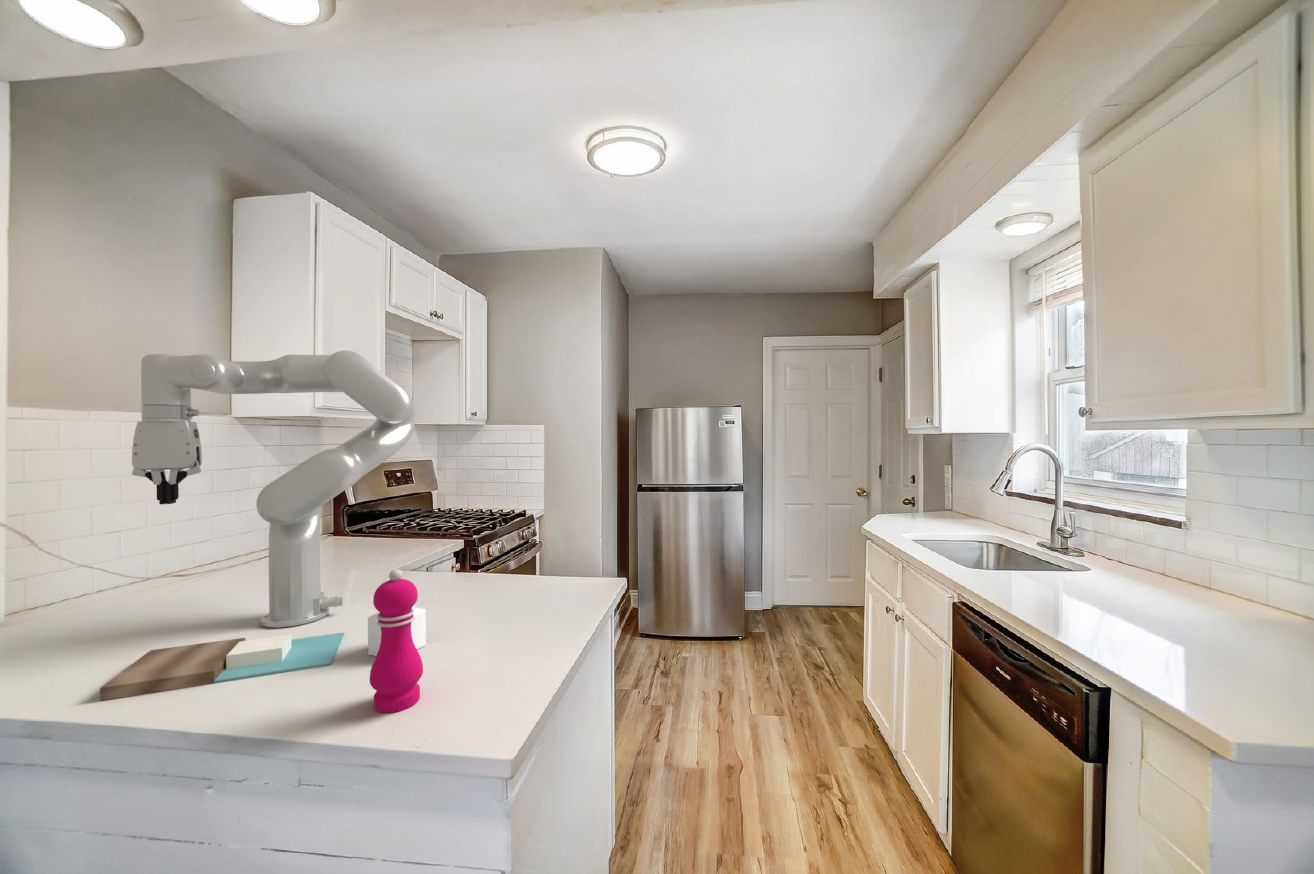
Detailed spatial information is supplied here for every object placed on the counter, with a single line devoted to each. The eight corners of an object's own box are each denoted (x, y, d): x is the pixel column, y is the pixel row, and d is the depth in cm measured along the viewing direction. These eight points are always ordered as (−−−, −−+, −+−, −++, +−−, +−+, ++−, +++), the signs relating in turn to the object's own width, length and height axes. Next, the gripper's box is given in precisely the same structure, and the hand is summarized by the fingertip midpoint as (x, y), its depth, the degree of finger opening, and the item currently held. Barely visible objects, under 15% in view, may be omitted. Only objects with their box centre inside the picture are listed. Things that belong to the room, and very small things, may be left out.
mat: (344, 634, 108) (344, 632, 108) (331, 664, 93) (331, 662, 93) (242, 648, 101) (242, 646, 101) (210, 683, 86) (210, 681, 86)
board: (245, 647, 101) (245, 637, 101) (214, 682, 87) (214, 670, 87) (150, 661, 96) (150, 650, 96) (100, 700, 81) (100, 687, 81)
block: (291, 647, 100) (291, 634, 100) (282, 661, 94) (282, 647, 94) (239, 654, 97) (239, 641, 97) (226, 669, 91) (226, 655, 91)
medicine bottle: (427, 645, 101) (426, 583, 101) (397, 660, 95) (396, 593, 95) (398, 641, 104) (397, 580, 104) (367, 655, 97) (366, 590, 97)
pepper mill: (382, 692, 83) (381, 564, 83) (430, 689, 83) (428, 562, 83) (360, 716, 75) (358, 576, 75) (413, 713, 76) (411, 574, 76)
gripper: (218, 416, 116) (219, 499, 116) (128, 415, 110) (129, 503, 110) (205, 414, 109) (206, 503, 109) (108, 414, 103) (109, 508, 103)
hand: (167, 503), depth 109 cm, fingers closed
